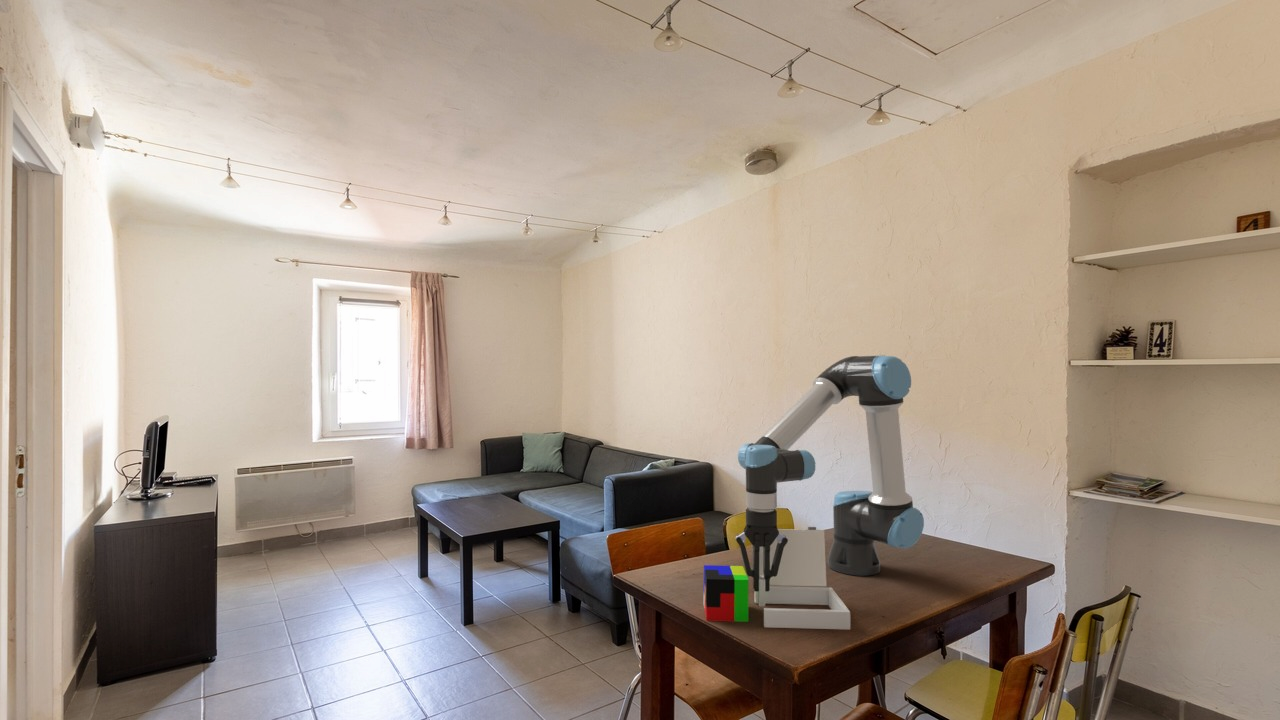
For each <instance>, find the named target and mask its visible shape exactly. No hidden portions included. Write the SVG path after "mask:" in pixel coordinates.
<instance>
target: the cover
mask: <svg viewBox="0 0 1280 720" xmlns="http://www.w3.org/2000/svg"><path fill="white" fill-rule="evenodd" d="M777 529H778V531H779V533H780V534H781V535H784V536H786V538H787V539H788V542H787V544H786V545H785V547H784V549H783V553H782V557H781V561H780V565H779V569H778V574H777V576H775V577H774V576H773V577H771V578H770V586H782V587H827V568H826V566H827V565H826V543H825V542H826V541H825V529H817V527H816V526H807V529H796V528H795V529H792V528H790V529H789V528H788V529H786V528H785V529H784V528H783V529H782V528H777ZM777 543H778V542H777V538H776V539H775V540H774V542H773V543H772V544H771V545H770V570H771V567H772V562H773V558H774V554H775V550H776V546H777ZM759 576H764V574H763V546H761V547H760V551H759Z"/></svg>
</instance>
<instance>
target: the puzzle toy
mask: <svg viewBox="0 0 1280 720" xmlns="http://www.w3.org/2000/svg"><path fill="white" fill-rule="evenodd" d="M749 583H750V581H749V576H748V575H747V573H746V570H745V567H744V565H710V564H706V565H705V564H703V608H704V615H705V620H706V621H707V622H709V621H710V622H740V623H741V622H742V623H743V622H749V585H750V584H749Z"/></svg>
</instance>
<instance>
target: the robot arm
mask: <svg viewBox="0 0 1280 720" xmlns="http://www.w3.org/2000/svg"><path fill="white" fill-rule="evenodd" d="M911 387H912V375H911V372H910V370H909V367H908V366H907V364H906V363H905V362H903V360H902V359H900V358H898V357H897V356H889V355H885V354H884V355H880V354H879V355H865V356H862V355H860V356H858V355H852V356H851V355H850V356H847V357H845V358H842V359H840V360H838V361H836V362H835V363H833V364H831V365H830V366H829V367H828V368H826V369H825V370H824V371H822V372H821V373H820V374H819V375H818V376H817V377H816V378H815V379H814V380H813V382H812V387H811V388H810V389H809V390H807V392H806V393H804V394H803V396H802V397H801V398H799V400H798V401H797V402H796V403H795V404H794V405H793V406H791V408H789V410H787V411H786V412H785V413H784V415H782V416H781V417H780V418H779V419H778V420H777V421H776V422H775V423H774V424H773V425H772V426H771V427H770V428H769V429H768V430H767V431H766V432H765V433H764V434H763V435H762V436H761V437H760V438H758V440H757V441H756V442H755V443H753V442H750V443H745V444H743V445H742V446H741V447H740V448H739V450H738V454H737V460H738V463H739V465H740V466H741V467H742V468H743V469H745V506H746V507H747V508H746V509H745V526H744V529H743V532H742V533H740V534H736V535H735V537H734V539H735V541H736V542H737V544H738V545H739V548H740V549H739V550H740V552H741V557H742V561H743V567H744V570H745V572H746V575H747V577H752V585H753V586H752V588H753V590H754V592H755V591H757V602H758V603H757V604H758V607H766V604H765V591H768V592H769V590H770V586H771V585H770V578H771V577H773V576H774V577H775V576H777V574H778V569H779V565H780V561H781V557H782V553H783V549H784V547H785V545H786V544H787V542H788V539H787V538H786V536H784V535H781V534H780V533H779V531H778V529H779V528H778V524H777V523H778V518H777V517H778V514H777V513H778V512H777V511H778V510H777V507H778V501H777V499H778V498H777V497H778V496H777V495H778V492H777V491H778V484H780V483H785V482H787V483H788V482H794V481H796V482H797V481H798V482H799V481H804V480H807V479H810V478H812V477H813V476H814V475H815V471H816V461H815V458H814V456H813V454H812V453H811V452H810V451H808V450H805V449H803V450H802V449H796V450H789V449H791V447H793V445H794V444H795V443H796V442H797V441H799V439H800V438H801V437H802V436H803V435H804V434H805V433H806V432H807V431H808V430H809V429H810V428H811V427H812V426H813V425H814V424H815V423H816V422H817V421H818V420H819V419H820V418H821V417H822V416H823V415H824V414H825V413H826V412H827V411H828V410H829V408H831V406H832V405H838V404H840V402H841V401H842V400H844V399H845V398H849V397H852V396H854V397H858V404H859V406H860V407H861V408H862V409H864V411H865V418H866V419H865V421H866V429H867V439H868V451H869V459H870V460H869V462H870V472H871V481H872V491H869V490H847V491H839V492H837V493H836V494H834V497H833V506H832V507H833V541H832V544H831V547H830V549H829V553H828V555H827V567H828V568H830V569H831V570H833V571H835V572H838V573H842V574H847V575H851V576H852V575H853V576H862V577H863V576H874V575H878V574H879V573H880V572H881V561H880V558H879V555H878V552H877V549H876V546H875V541H876V542H879V543H881V544H884V545H887V546H890V547H893V548H899V549H904V550H906V549H909V548H911V547H913V546H915V544H917V542H918V541H919V539H920V538H921V537H922V534H923V531H924V526H925V525H924V524H925V519H924V515H923V513H922V512H921V510H919V509H917V508H916V507H914V504H913V497H912V495H910V494H909V493H907V490H906V481H905V470H904V458H903V448H902V447H903V446H902V438H901V437H902V436H901V427H900V425H901V424H900V414H899V408H900V407H901V406H902V405H903V404H904V398H906V397H907V395H908V394H909V393H910V388H911ZM746 538H747V540H748V541H749V542H750V544H751V545H752V568H751V565H750V561H749V557H748V556H749V555H748V552H747V549H746V545H745V543H746V542H747V541H746ZM776 538H777V542H778V543H777V546H776V550H775V554H774V558H773V562H772V567H771V570H770V545H771V544H772V543H773V542H774V540H775V539H776ZM761 546H763V574H764V576H759V551H760V547H761Z"/></svg>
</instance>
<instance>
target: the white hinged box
mask: <svg viewBox="0 0 1280 720" xmlns="http://www.w3.org/2000/svg"><path fill="white" fill-rule="evenodd" d="M838 595H839V594H837V593H836V591H835V590H834V589H833V587H824V586H779V585H770V590H769V592H768V591H765V605H766V604H769V605H770V604H771V605H772V604H773V605H777V604H778V605H782V604H783V605H810V606H811V605H812V606H813V605H814V606H815V605H816V606H817V605H819V606H828V607H829V608H830V609H824V608H823V609H821V608H817V609H816V608H812V609H811V608H782V607H781V608H777V607H776V608H775V607H774V608H772V607H771V608H770V607H763V627H764V628H770V629H771V628H772V629H773V628H775V629H776V628H778V629H779V628H780V629H781V628H782V629H784V628H785V629H813V630H814V629H818V630H819V629H820V630H824V629H825V630H851V611H850V610H849V608H848V607H847V606H846V604H845V603H844V601H843V600H842V599H841V598H840V597H839V596H838ZM754 604H758V602H757V591H755V590H754Z"/></svg>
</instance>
